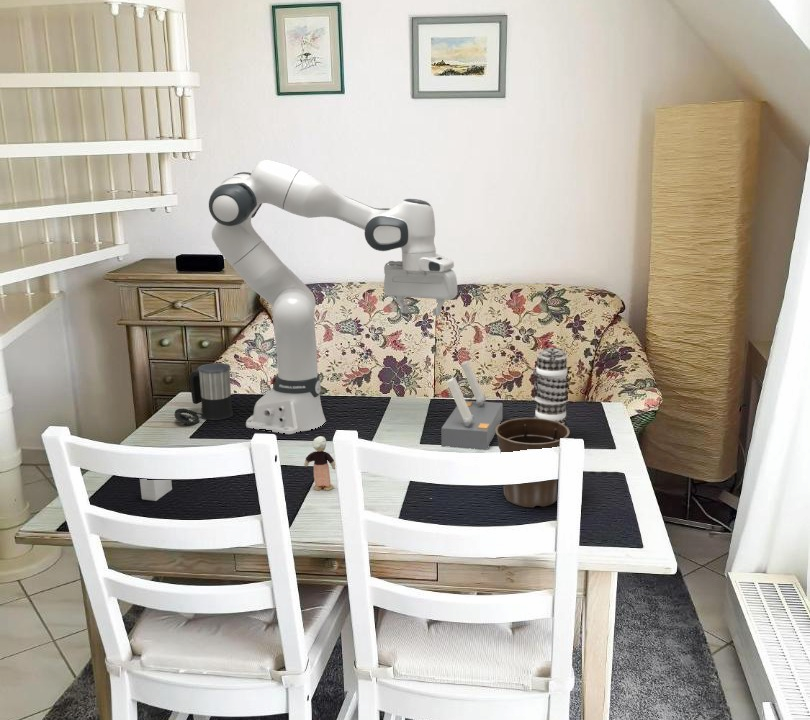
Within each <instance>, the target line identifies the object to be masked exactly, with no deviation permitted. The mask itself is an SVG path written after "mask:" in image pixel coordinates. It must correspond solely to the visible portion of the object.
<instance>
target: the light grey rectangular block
mask: <svg viewBox="0 0 810 720" xmlns="http://www.w3.org/2000/svg"><path fill="white" fill-rule="evenodd" d="M139 483H140V484H139V485H140V494H141V499H142V500H146V501H153V502H154V501H155V502H157V501H158V500H159V499H161V498H163V496H165V495H166V494H167V493H169V492H171V491H172V490H173V486H172V484H173V483H172V479H171V480H147V479H140V478H139Z"/></svg>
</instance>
